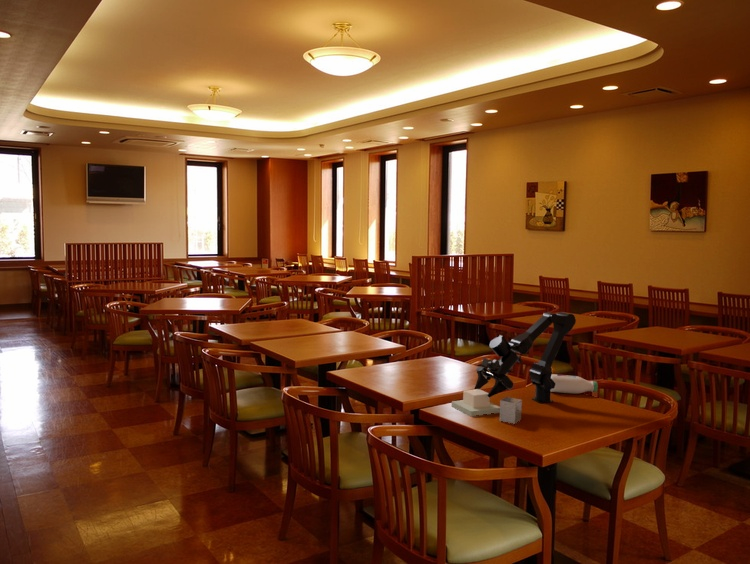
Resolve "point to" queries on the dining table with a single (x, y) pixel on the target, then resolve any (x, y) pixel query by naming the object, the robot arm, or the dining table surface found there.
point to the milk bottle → (572, 384)
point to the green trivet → (475, 411)
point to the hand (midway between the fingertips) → (481, 393)
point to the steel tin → (510, 410)
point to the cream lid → (476, 398)
